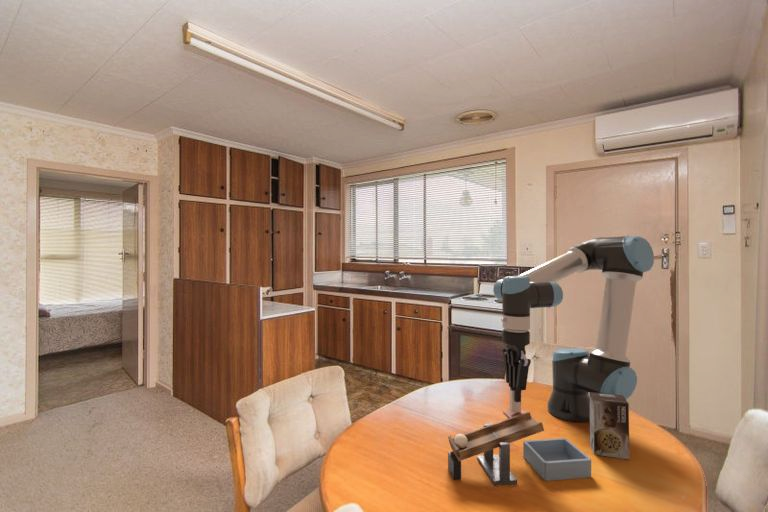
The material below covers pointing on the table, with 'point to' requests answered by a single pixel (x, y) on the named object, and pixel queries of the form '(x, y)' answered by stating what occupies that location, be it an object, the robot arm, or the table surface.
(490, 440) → the lever
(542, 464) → the dish
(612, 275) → the robot arm
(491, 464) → the fulcrum
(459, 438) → the ball
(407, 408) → the table surface
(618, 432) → the coffee box
